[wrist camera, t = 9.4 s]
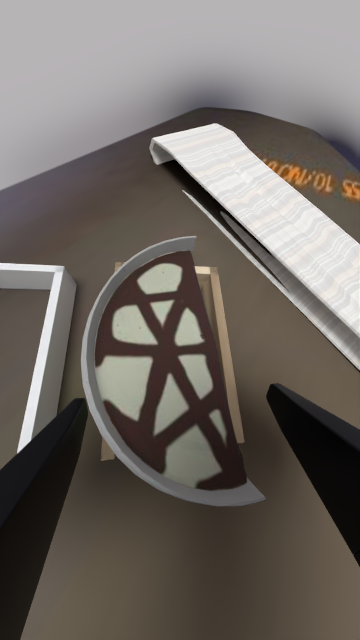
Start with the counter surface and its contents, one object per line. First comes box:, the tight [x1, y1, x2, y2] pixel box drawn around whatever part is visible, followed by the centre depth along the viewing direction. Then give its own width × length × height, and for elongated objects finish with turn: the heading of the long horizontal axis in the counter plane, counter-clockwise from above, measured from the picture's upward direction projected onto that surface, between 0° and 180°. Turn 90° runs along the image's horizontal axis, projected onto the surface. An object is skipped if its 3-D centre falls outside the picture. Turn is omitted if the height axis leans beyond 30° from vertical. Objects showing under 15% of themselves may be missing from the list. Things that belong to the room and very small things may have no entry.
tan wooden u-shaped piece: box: [101, 262, 245, 461], centre depth 16 cm, size 10×15×3 cm, turn 3°
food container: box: [81, 236, 266, 506], centre depth 12 cm, size 12×6×10 cm, turn 10°
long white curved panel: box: [150, 124, 360, 370], centre depth 24 cm, size 12×4×40 cm
